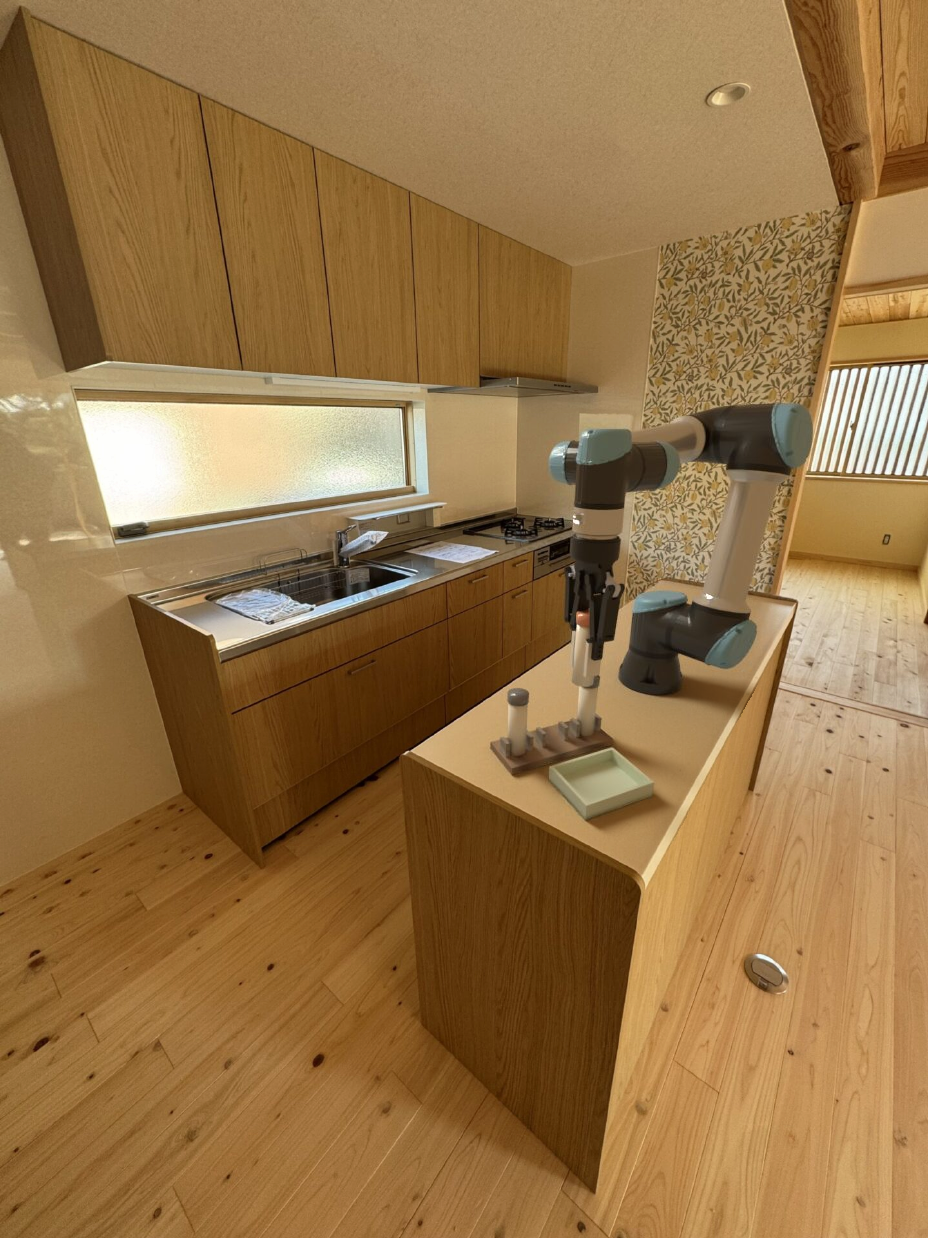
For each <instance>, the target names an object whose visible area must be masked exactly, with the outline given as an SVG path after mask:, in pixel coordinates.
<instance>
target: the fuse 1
mask: <svg viewBox="0 0 928 1238" xmlns="http://www.w3.org/2000/svg"><path fill="white" fill-rule="evenodd" d="M506 699H507V701H506V702H507V706H508V707H507V709H508V712H507V738H508V742H509V743H510V754H511V755H514V756H521V755H523V754H525V752H526V736H527V730H528V729H527V728H528V708H529V707H528V706H529V705H528V704H529V703H530V692H529V691H528V690H527V689H526V688H522V687H515V688H514V687H513V688H511V689H509V690H508V691H507V698H506Z"/></svg>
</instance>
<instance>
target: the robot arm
mask: <svg viewBox="0 0 928 1238" xmlns="http://www.w3.org/2000/svg"><path fill="white" fill-rule="evenodd" d="M813 425H814V424H813V419H812V415H811V412H810V411H809V409H808V408H807V407H806V406H805V405H804V404H800V403H797V402H796V403H793V402H790V403H789V402H776V403H775V402H773V403H759V404H758V403H753V404H743V405H742V404H740V405H734V404H733V405H730V404H729V405H723V406H718V407H717V406H716V407H713V408H709V409H705V410H702V411H698V412H694V413H690V414H687V415H680V416H678V417H676V418H674V419H673V420H672V421H670V423H667V424H661V425H657V426H651V427H647V428H642V429H641V428H640V429H638V430H632V431H631V430H630V429H628V428H589V429H588V428H587V429H584V430H583V431H581V433H580V435H579V440H573V439H572V440H570V441H566V440H565V441H561V442H559V443H557V444H556V445H554V447H553V448H552V450H551V452H550V454H549V458H548V466H549V467H548V470H549V474H550V476H551V477H552V479H553V480H554V481H556V482H557V483H560V484H566V485H568V486H572V485H574V487H575V488H574V500H573V514H572V532H574V534H573V535H572V536H571V537H570V541H571V542H570V549H569V555H570V558H571V559H572V560H574V561H575V562H574V564H573V565H568V566H567V565H566V566H564V568H563V572H564V579H565V587H564V588H565V589H564V590H565V591H564V614H563V620H564V622H565V623H568V624H569V628H570V630H571V633H570V657H569V667H571V668H573V662H574V651H575V639H576V628H577V623H576V613H577V611H581V610H589V614H590V638H589V639H586V650H585V661H584V673H583V676H584V677H591V676H596V675H599V676H600V673H601V665H602V664H601V663H602V660H603V656H604V646H605V643H608V642H609V643H610V642H613V641H614V640H615V636H616V630H617V624H618V618H619V617H618V616H619V610H620V604H621V598H622V596H623V594H624V592H625V590H626V587H625V584H624V583H618V582H617V581H616V580H615V579H614V577H615V576H614V570H613V569H614V567H613V566H614V564H615V562H617V561H618V560H619V559H620V552H621V544H622V543H621V542H622V539H621V537H620V536H619V535H621V534H622V533H623V527H624V519H625V518H624V517H625V502H626V495H627V493H633V492H635V493H636V492H637V493H638V492H646V491H649V492H654V491H657V490H660V489H664V488H666V487H667V486H669V485H670V484H672V483H673V482H674V481H675V479H676V478H677V476H678V474H679V471H680V468H681V464H682V465H683V464H687V463H694V462H695V463H707V464H718V465H726V466H725V470H724V473H725V474H726V475H727V478H729V481H730V483H729V488H728V491H727V495H726V499H725V501H724V502H725V503H724V507H723V510H722V514H721V518H720V522H719V526H718V529H717V533H716V538H715V542H714V546H713V549H712V553H711V557H710V560H709V565H708V568H707V573H706V576H705V580H704V583H703V588H702V592H701V593H700V594H698V595H696V596H695V597H693V598H692V601H691V604H690V603H688V600H689V599H688V595H687V594H686V593H684V592H680V591H678V590H677V591H674V590H652V591H646V592H643V593H639V594H638V595H637V596H636V597H635V598H634V603H633V606H632V607H633V608H632V611H631V614H632V615H631V623H630V624H631V625H630V635H629V643H628V649H627V652H626V653H625V656H624V657H623V660H622V663H620V666H619V668H618V676H617V677H618V680H619V681H620V683H621V684H622V685H623V686H625V687H626V688H629V689H631V690H632V691H635V692H639V693H643V694H647V695H656V696H657V695H660V696H661V695H671V694H674V693H677V692H678V691H680V689H681V688H682V684H683V677H684V676H683V673H682V671H681V664H680V663H681V662H680V659H679V655H682V656H684V657H687V658H690V659H693V660H696V661H699V662H701V663H703V664H705V665H707V666H713V667H716V668H719V669H722V670H728V669H732V668H734V667H736V666H737V665H739V664H740V663H741V662H742V661H743V660H744V658H746V656H747V655H748V653H749V652H750V650H751V648H752V647H753V645H754V642H755V640H756V636H757V635H758V634H757V633H758V631H757V630H758V628H757V624H756V623H755V622H754V621H753V620H752V619H750V617H751V613H752V609H751V607H750V606H749V605H748V603H747V598H748V597H747V596H748V594H749V590H750V586H751V583H752V580H753V575H754V573H755V570H756V565H757V563H758V558H759V555H760V551H761V549H762V548H761V547H762V543H763V540H764V537H765V533H766V530H767V526H768V523H769V519H770V517H771V513H772V508H773V505H774V501H775V497H776V494H777V492H778V487H779V486H780V485H781V484H783V483H784V482H785V481H787V480H789V479H790V476H791V473H792V470H793V469H797V468H800V467H802V466H804V464H805V463H806V462H807V459H808V457H809V456H810V452H811V449H812V444H813V437H814V436H813V435H814V426H813Z"/></svg>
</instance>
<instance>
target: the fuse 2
mask: <svg viewBox="0 0 928 1238" xmlns="http://www.w3.org/2000/svg"><path fill="white" fill-rule="evenodd" d="M600 681H601V675H600V674H599V675H596V676H594V679H593V685H591V686H589V687H581V686H578V701H577V712H576V713H577V714H576V719H577V721H578V722H579V723H580V735H583V736H590V735H592V734H593V733H594V725H595V715H596V714H597V701H598V693H599V692H598V691H599V686H600V683H601V682H600Z"/></svg>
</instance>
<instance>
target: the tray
mask: <svg viewBox="0 0 928 1238" xmlns="http://www.w3.org/2000/svg"><path fill="white" fill-rule="evenodd" d="M548 781H549V782H550V783H551V784H552V785H553V786H554V788H555V789H556V790H557V791H558V792H559V793H560V794H561V795H562V797H563V798H564V799H565V800H566V801H567V802H568V803H569V804H570V805H571V807H573V809H574V810H575V811H576V812H577V813H578V814H579V815H580V816H581V818H582V819H583V820H584V821H587V820H591V819H593V818H596V817H598V816H601V815H605V814H606V813H609V812H611V811H612V812H613V811H615V810H618V809H620V808H623V807H625V806H629V805H632V804H635V803H637V802H640V801H643V800H645V799H648V798H651V797H653V793H654V792H653V791H654V785H655V781H654V780H652V779H651V777H649V776H647V775H646V774H645V773H643V771H641V770H640V768H638V767H637V766H636V765H634V764H633V763H632V762H631V761H630V760H628V759H627V758H626V757H625V756H623V754H621V753H620V752H619V751H617V750H616V749H615V748H614V747H608V748H605V749H602V750H599V751H596V752H595V751H594V752H592V753H588V754H586V755H582V756H579V757H576V758H572V759H569V760H566V761H563V762H559V763H556V764H553V765H549V770H548Z"/></svg>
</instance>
